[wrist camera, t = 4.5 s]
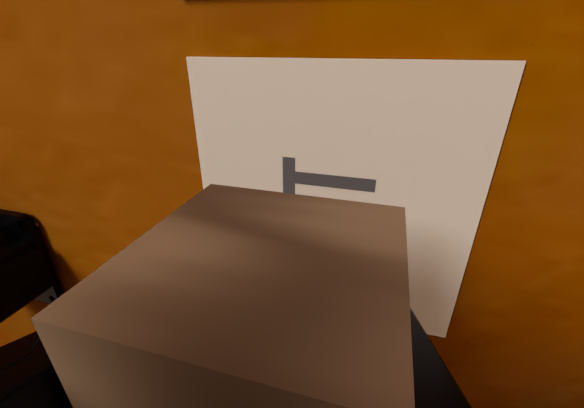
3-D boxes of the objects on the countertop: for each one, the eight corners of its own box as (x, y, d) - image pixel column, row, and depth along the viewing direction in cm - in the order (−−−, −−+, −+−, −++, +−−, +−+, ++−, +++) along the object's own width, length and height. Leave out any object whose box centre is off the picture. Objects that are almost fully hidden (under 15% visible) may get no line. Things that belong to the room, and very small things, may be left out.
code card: (217, 288, 17) (216, 289, 17) (187, 56, 12) (185, 56, 12) (444, 336, 14) (445, 338, 14) (525, 60, 9) (526, 61, 9)
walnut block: (226, 320, 11) (116, 499, 7) (211, 183, 9) (30, 318, 4) (379, 356, 10) (364, 605, 5) (404, 207, 8) (416, 426, 3)
